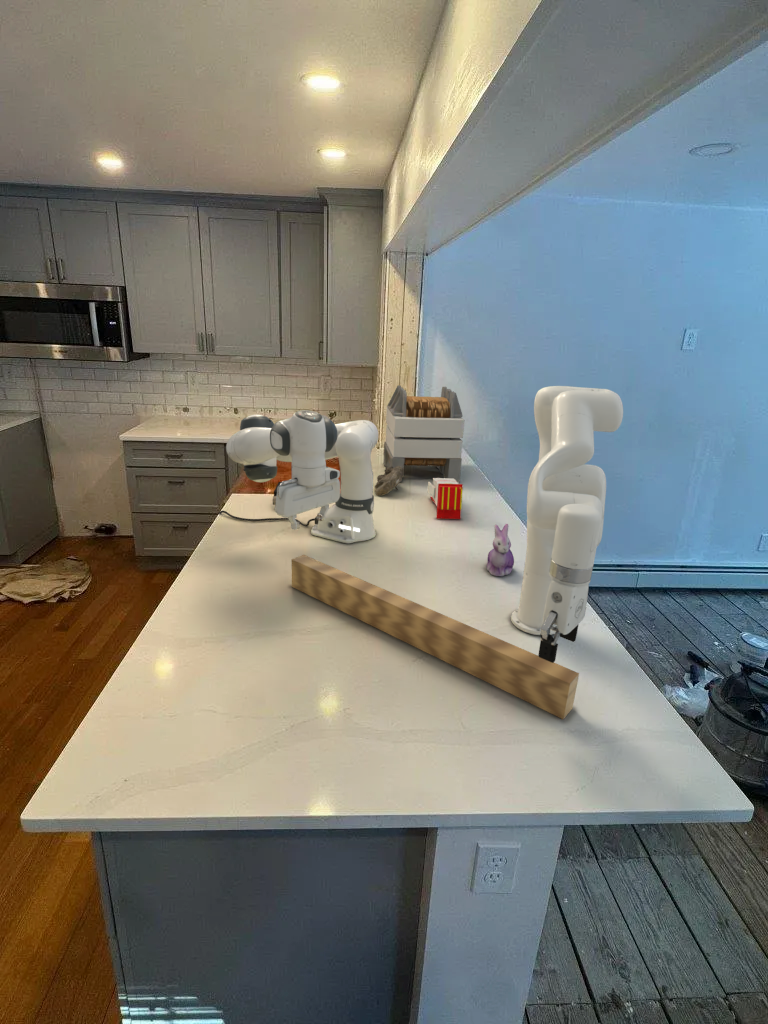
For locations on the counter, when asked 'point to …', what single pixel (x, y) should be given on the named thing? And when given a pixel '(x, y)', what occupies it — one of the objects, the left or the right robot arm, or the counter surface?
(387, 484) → the fossil
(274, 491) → the figurine character
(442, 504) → the toy
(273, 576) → the counter surface
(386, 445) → the grey crate shelf
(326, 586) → the post
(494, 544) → the figurine
